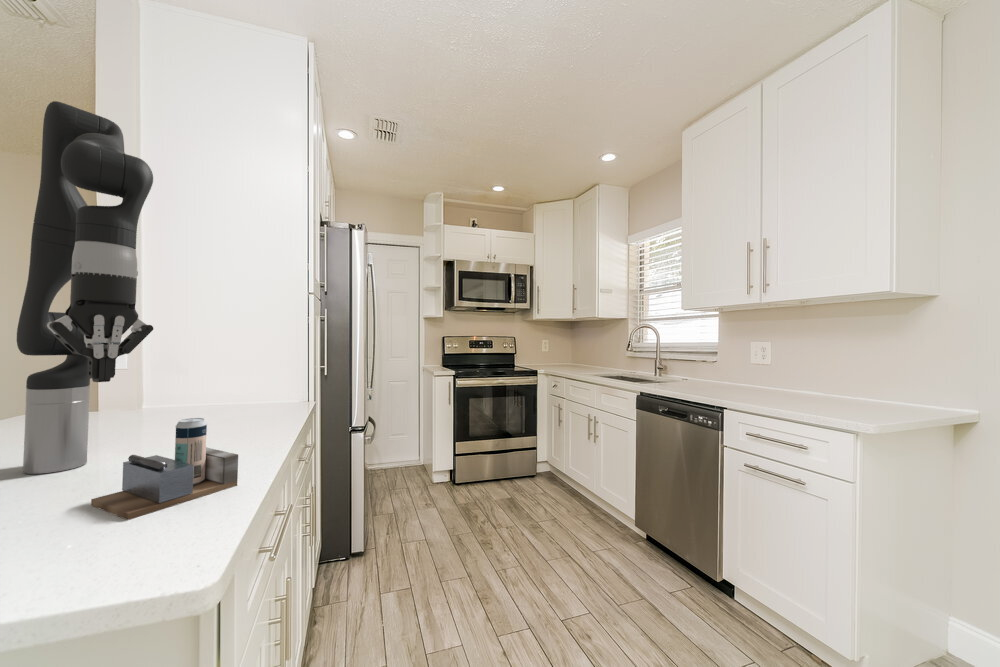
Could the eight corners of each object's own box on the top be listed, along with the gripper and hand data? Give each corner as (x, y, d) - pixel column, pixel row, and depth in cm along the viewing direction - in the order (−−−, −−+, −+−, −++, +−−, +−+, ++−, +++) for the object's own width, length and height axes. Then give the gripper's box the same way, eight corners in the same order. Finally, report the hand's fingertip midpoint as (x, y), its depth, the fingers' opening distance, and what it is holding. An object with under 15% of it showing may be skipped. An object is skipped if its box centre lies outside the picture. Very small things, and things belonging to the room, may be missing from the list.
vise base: (91, 505, 68) (92, 469, 68) (200, 475, 84) (201, 446, 84) (127, 520, 63) (129, 481, 63) (237, 485, 79) (238, 454, 79)
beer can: (208, 477, 80) (210, 416, 80) (201, 485, 75) (203, 421, 75) (178, 480, 78) (180, 418, 78) (169, 489, 73) (171, 423, 73)
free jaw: (122, 490, 72) (123, 455, 72) (157, 481, 77) (158, 448, 77) (159, 503, 67) (160, 465, 67) (194, 492, 72) (195, 457, 72)
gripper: (143, 280, 72) (139, 376, 72) (35, 268, 60) (30, 383, 60) (166, 279, 69) (162, 380, 69) (57, 265, 57) (52, 387, 57)
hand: (101, 381), depth 65 cm, fingers closed
